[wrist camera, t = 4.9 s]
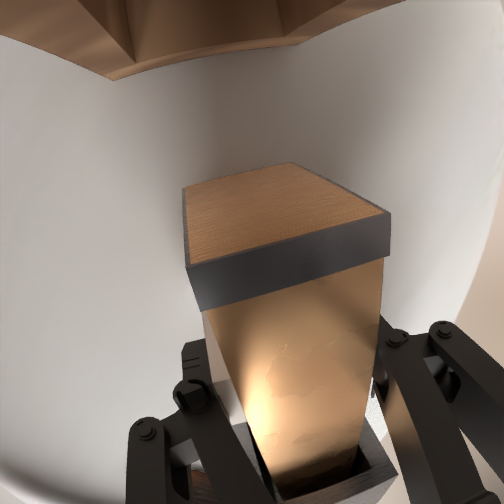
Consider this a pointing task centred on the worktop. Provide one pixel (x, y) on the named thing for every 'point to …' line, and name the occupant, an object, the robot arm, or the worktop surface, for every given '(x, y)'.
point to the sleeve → (341, 494)
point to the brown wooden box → (168, 28)
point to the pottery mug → (203, 489)
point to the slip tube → (291, 310)
